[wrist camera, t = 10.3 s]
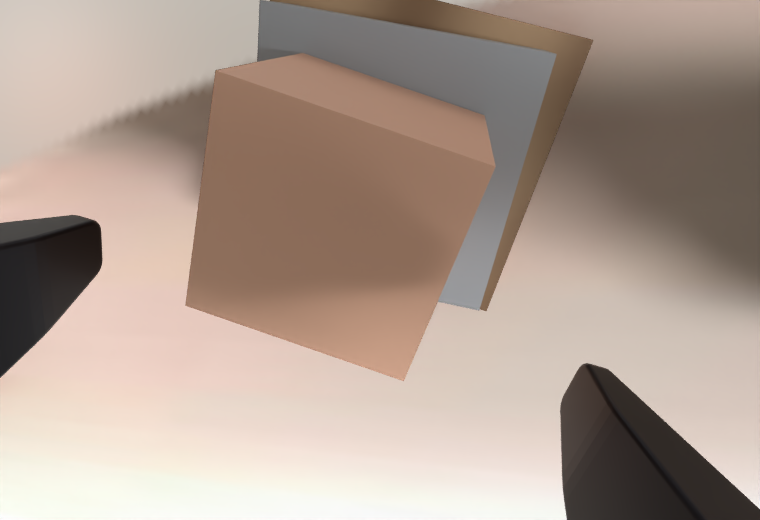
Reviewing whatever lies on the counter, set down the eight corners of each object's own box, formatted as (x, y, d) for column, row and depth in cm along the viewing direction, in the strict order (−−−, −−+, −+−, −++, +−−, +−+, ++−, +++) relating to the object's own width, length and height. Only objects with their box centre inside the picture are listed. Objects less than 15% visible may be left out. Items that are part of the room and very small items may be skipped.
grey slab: (543, 50, 16) (556, 54, 14) (477, 279, 20) (479, 310, 18) (286, 2, 17) (259, 0, 15) (271, 235, 21) (248, 260, 19)
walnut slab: (577, 37, 18) (593, 40, 16) (484, 283, 23) (486, 311, 21) (296, -34, 19) (273, -42, 16) (265, 223, 24) (244, 243, 21)
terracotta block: (484, 115, 15) (495, 166, 10) (421, 274, 18) (403, 380, 13) (302, 53, 15) (215, 70, 10) (267, 221, 18) (185, 305, 13)
